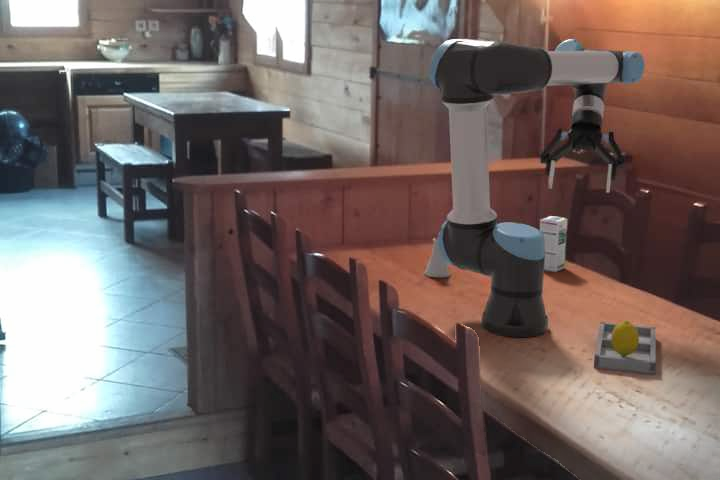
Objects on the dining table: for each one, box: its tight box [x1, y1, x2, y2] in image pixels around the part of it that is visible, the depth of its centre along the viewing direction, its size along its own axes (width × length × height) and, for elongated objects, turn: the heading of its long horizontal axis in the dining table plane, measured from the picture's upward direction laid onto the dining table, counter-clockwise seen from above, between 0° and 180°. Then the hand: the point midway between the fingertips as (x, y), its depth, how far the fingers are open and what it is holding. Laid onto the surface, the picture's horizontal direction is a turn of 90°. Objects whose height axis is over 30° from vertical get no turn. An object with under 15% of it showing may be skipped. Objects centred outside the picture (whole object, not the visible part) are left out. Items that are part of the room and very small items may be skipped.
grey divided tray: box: [593, 321, 657, 375], centre depth 209 cm, size 23×12×2 cm, turn 164°
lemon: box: [611, 320, 639, 357], centre depth 203 cm, size 6×6×8 cm
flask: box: [424, 237, 451, 278], centre depth 265 cm, size 7×7×10 cm
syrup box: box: [539, 215, 568, 273], centre depth 272 cm, size 6×6×14 cm
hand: (578, 187), depth 234 cm, fingers open, 13 cm apart
